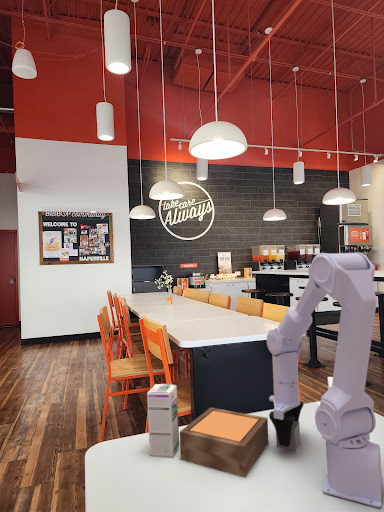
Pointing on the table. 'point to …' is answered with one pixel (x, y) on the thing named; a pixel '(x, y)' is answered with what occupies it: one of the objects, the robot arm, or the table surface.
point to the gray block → (292, 438)
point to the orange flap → (225, 426)
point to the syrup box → (163, 420)
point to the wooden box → (224, 446)
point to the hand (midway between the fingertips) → (288, 438)
